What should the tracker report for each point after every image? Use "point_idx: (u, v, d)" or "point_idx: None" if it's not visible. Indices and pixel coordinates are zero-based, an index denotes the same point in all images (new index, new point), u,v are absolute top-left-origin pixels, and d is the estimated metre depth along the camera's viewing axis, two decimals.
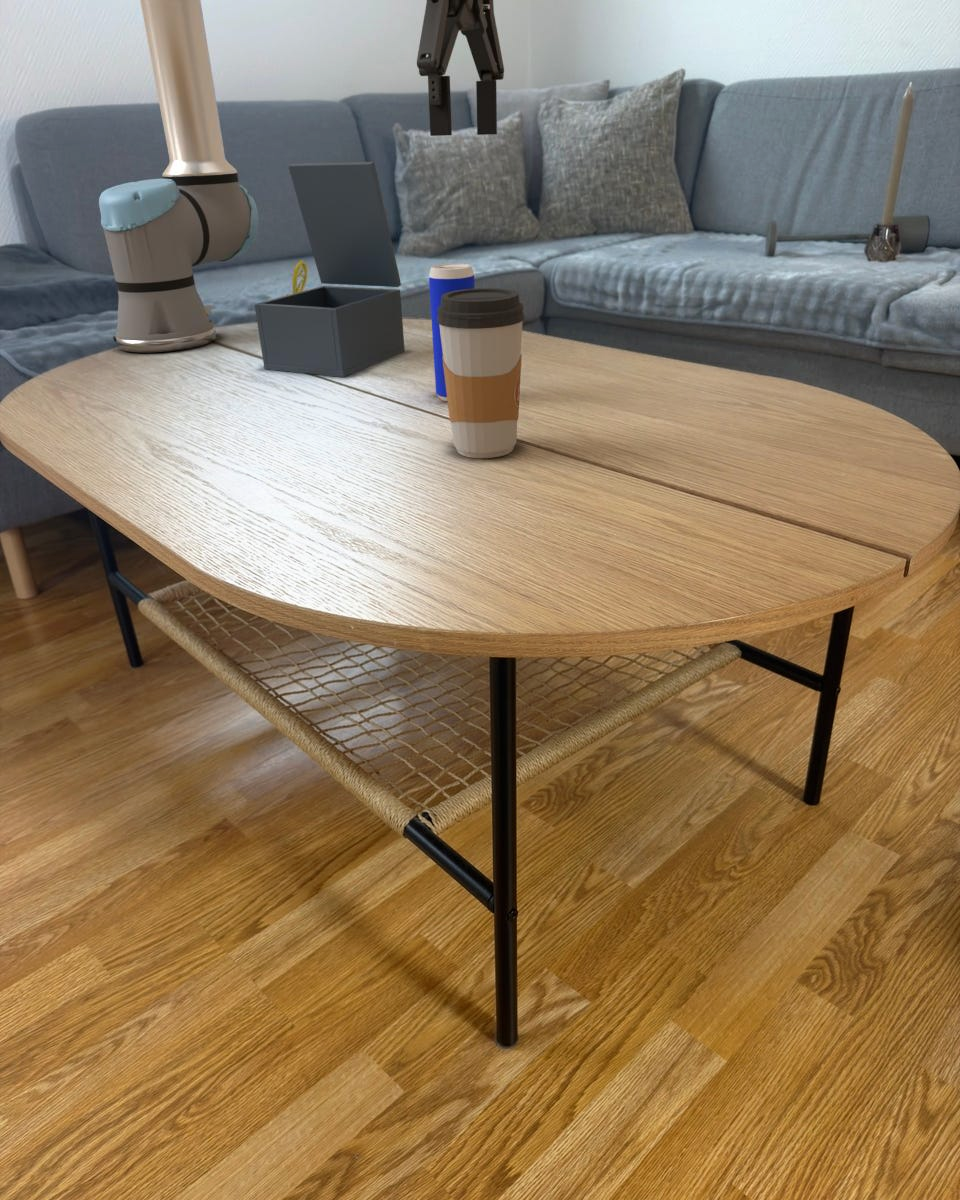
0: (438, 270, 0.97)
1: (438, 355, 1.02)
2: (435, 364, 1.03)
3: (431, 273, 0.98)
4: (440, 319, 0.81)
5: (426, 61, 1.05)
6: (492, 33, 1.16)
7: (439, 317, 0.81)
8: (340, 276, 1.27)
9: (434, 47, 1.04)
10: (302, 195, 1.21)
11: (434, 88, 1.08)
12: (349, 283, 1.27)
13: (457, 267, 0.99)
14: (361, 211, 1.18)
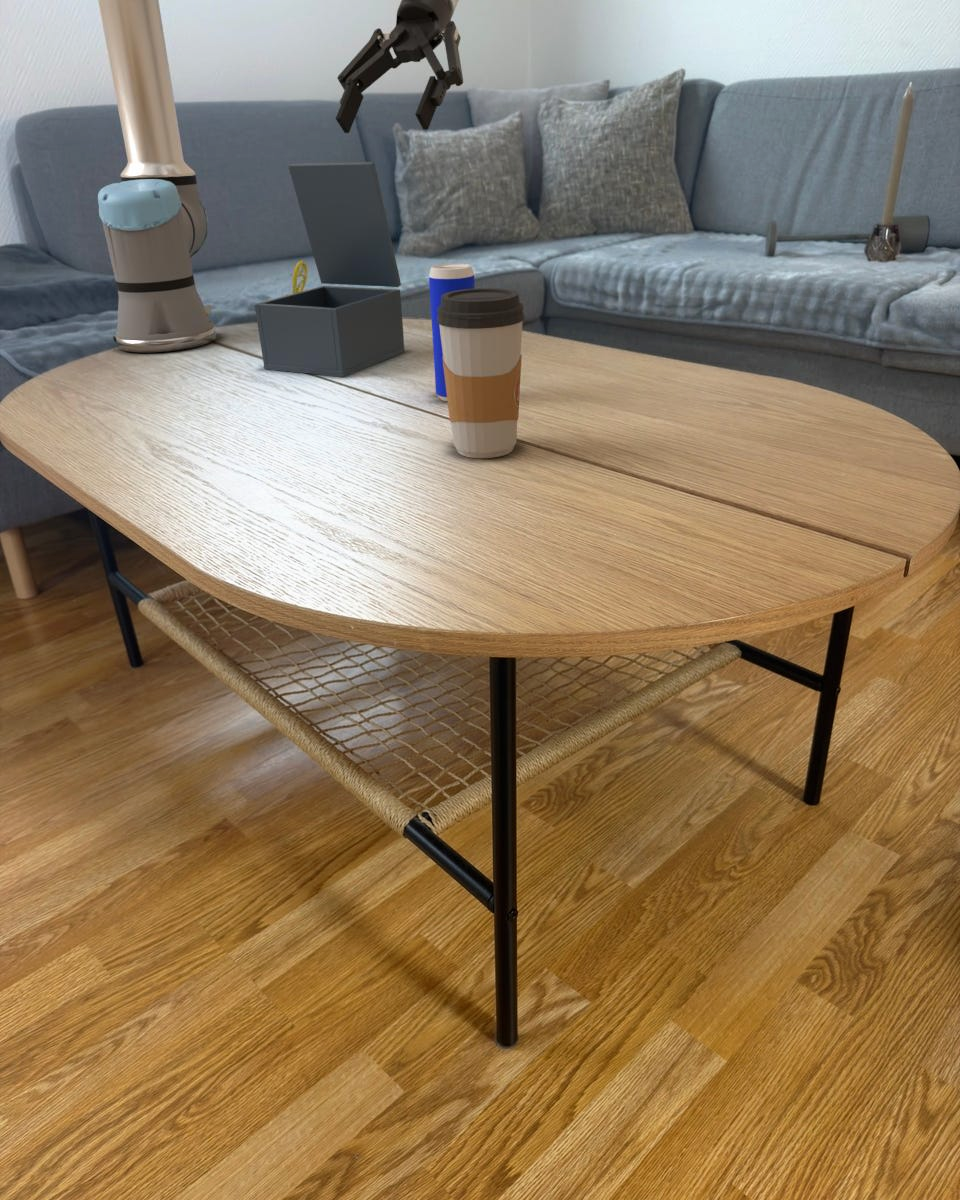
0: (438, 270, 0.97)
1: (438, 355, 1.02)
2: (435, 364, 1.03)
3: (431, 273, 0.98)
4: (440, 319, 0.81)
5: (460, 75, 1.21)
6: None
7: (439, 317, 0.81)
8: (340, 276, 1.27)
9: (461, 72, 1.22)
10: (302, 195, 1.21)
11: (442, 92, 1.21)
12: (349, 283, 1.27)
13: (457, 267, 0.99)
14: (361, 211, 1.18)
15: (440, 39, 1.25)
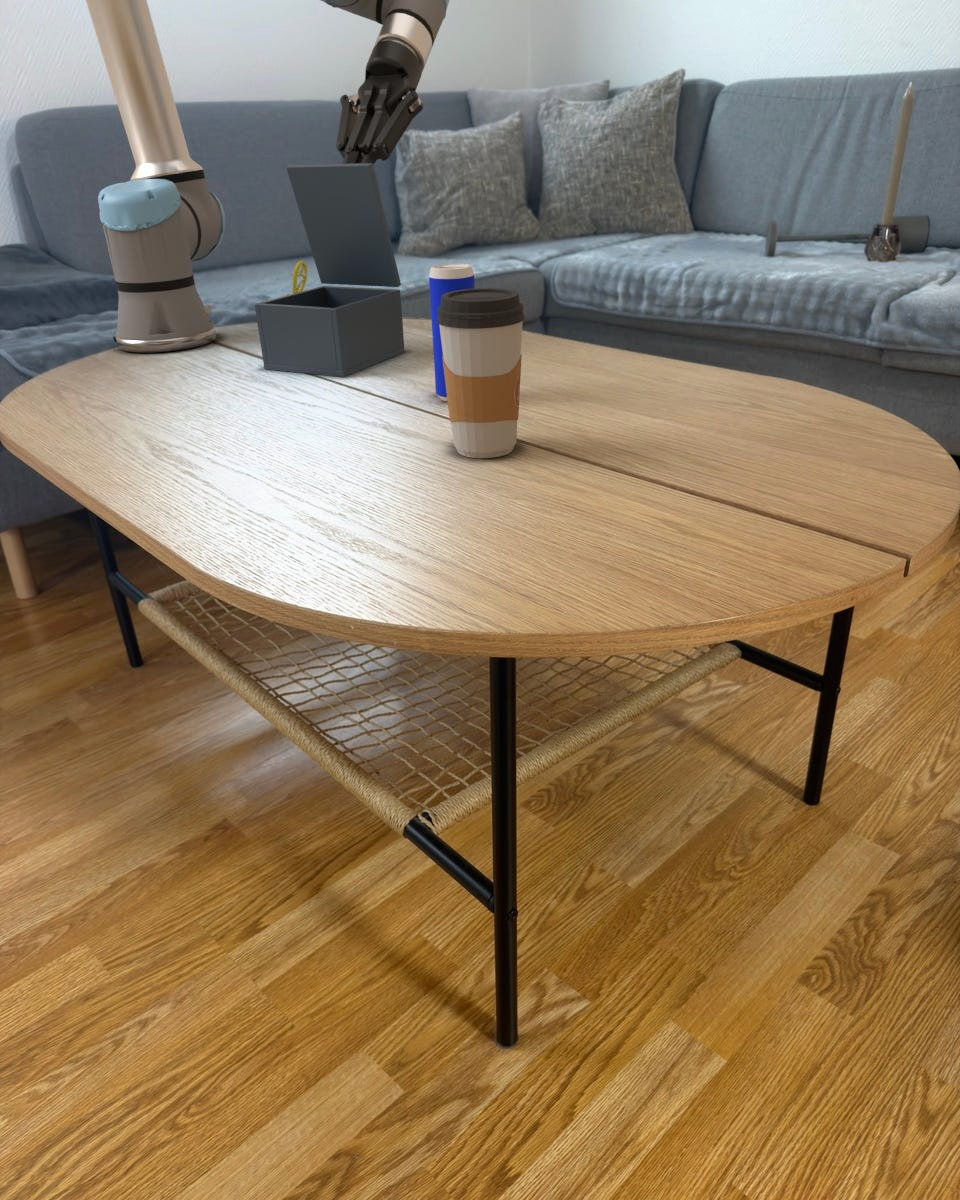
0: (438, 270, 0.97)
1: (438, 355, 1.02)
2: (435, 364, 1.03)
3: (431, 273, 0.98)
4: (440, 319, 0.81)
5: (383, 152, 1.20)
6: None
7: (439, 317, 0.81)
8: (340, 276, 1.27)
9: (392, 148, 1.21)
10: (300, 196, 1.20)
11: None
12: (349, 283, 1.27)
13: (457, 267, 0.99)
14: (360, 212, 1.18)
15: None
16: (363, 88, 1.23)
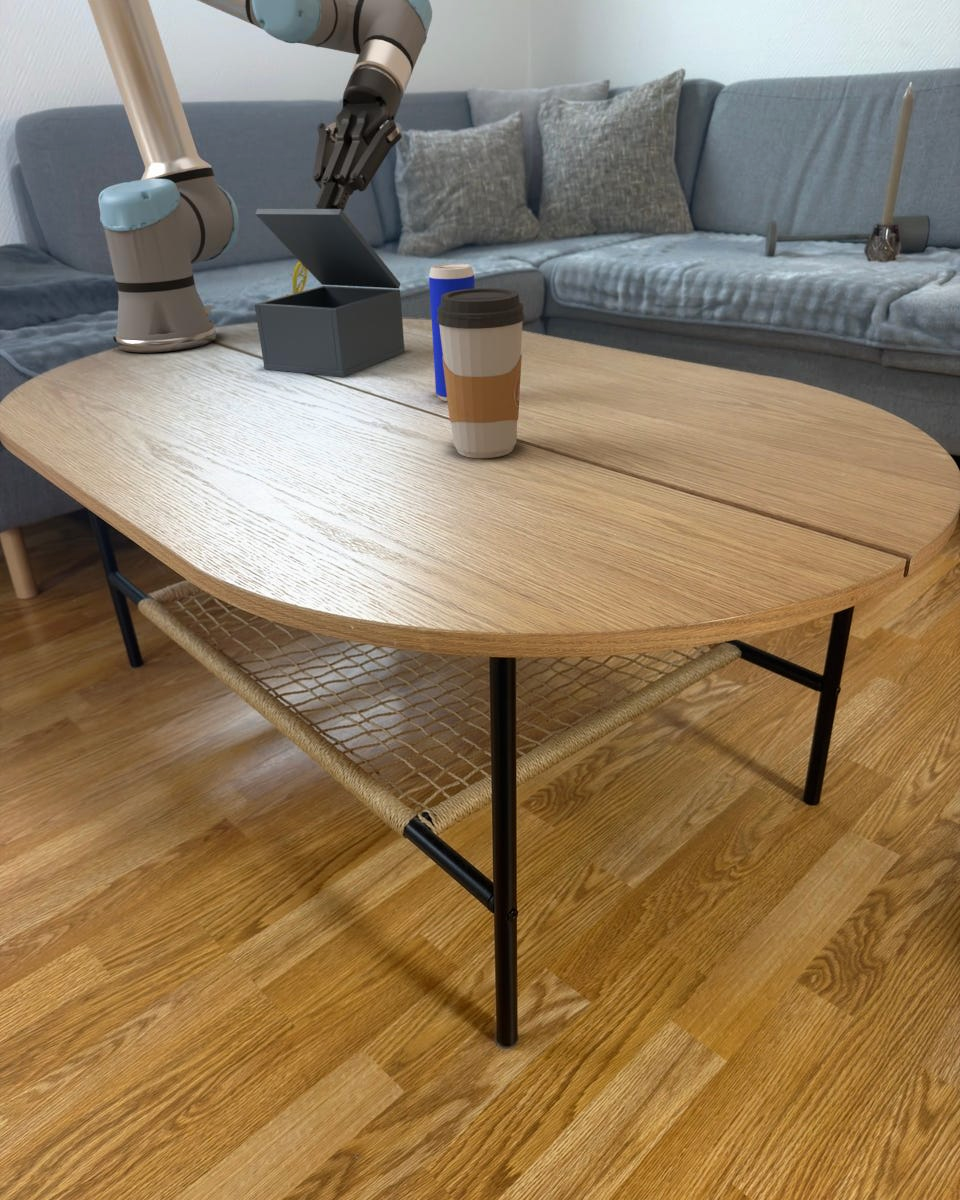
0: (438, 270, 0.97)
1: (438, 355, 1.02)
2: (435, 364, 1.03)
3: (431, 273, 0.98)
4: (440, 319, 0.81)
5: (361, 183, 1.17)
6: None
7: (439, 317, 0.81)
8: (339, 281, 1.27)
9: (370, 178, 1.17)
10: (278, 232, 1.18)
11: (344, 198, 1.17)
12: (349, 285, 1.27)
13: (457, 267, 0.99)
14: (342, 243, 1.16)
15: None
16: (340, 116, 1.20)
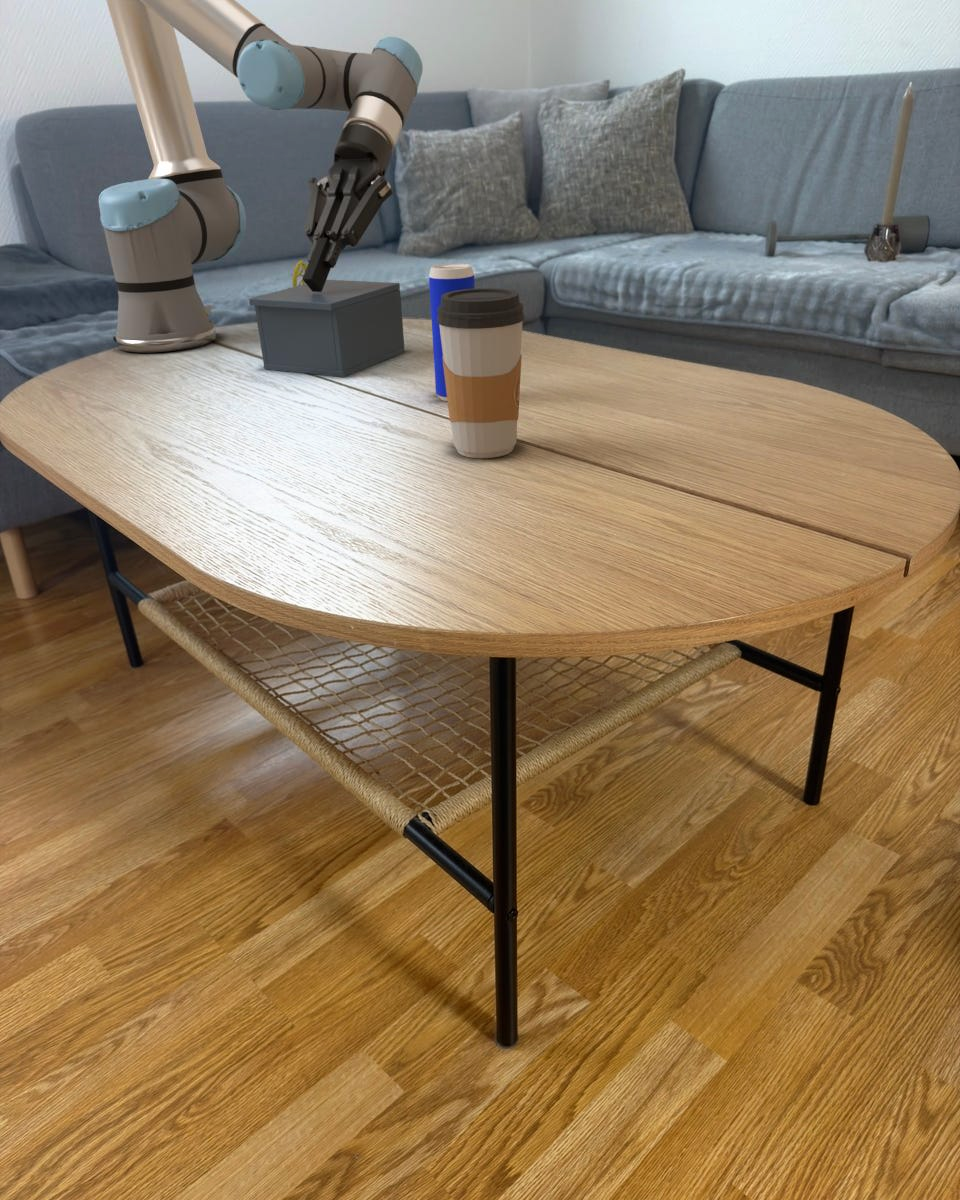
0: (438, 270, 0.97)
1: (438, 355, 1.02)
2: (435, 364, 1.03)
3: (431, 273, 0.98)
4: (440, 319, 0.81)
5: (352, 239, 1.17)
6: None
7: (439, 317, 0.81)
8: None
9: (361, 234, 1.18)
10: None
11: (335, 253, 1.17)
12: None
13: (457, 267, 0.99)
14: None
15: None
16: (332, 171, 1.21)
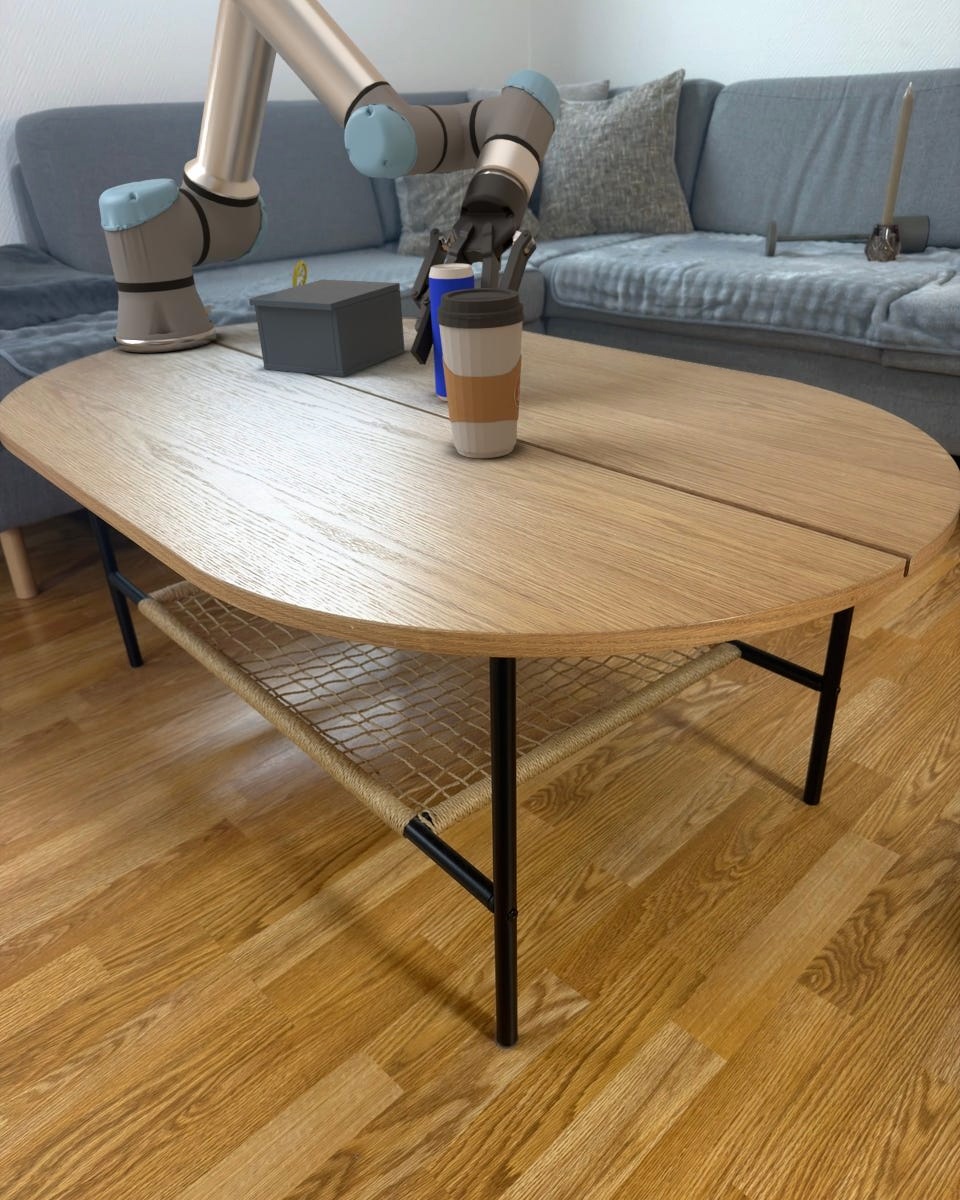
0: (438, 270, 0.97)
1: (437, 355, 1.02)
2: (435, 364, 1.03)
3: (431, 273, 0.98)
4: (440, 319, 0.81)
5: None
6: None
7: (439, 317, 0.81)
8: None
9: None
10: None
11: None
12: None
13: (457, 267, 0.99)
14: None
15: (513, 241, 1.02)
16: (459, 227, 1.04)
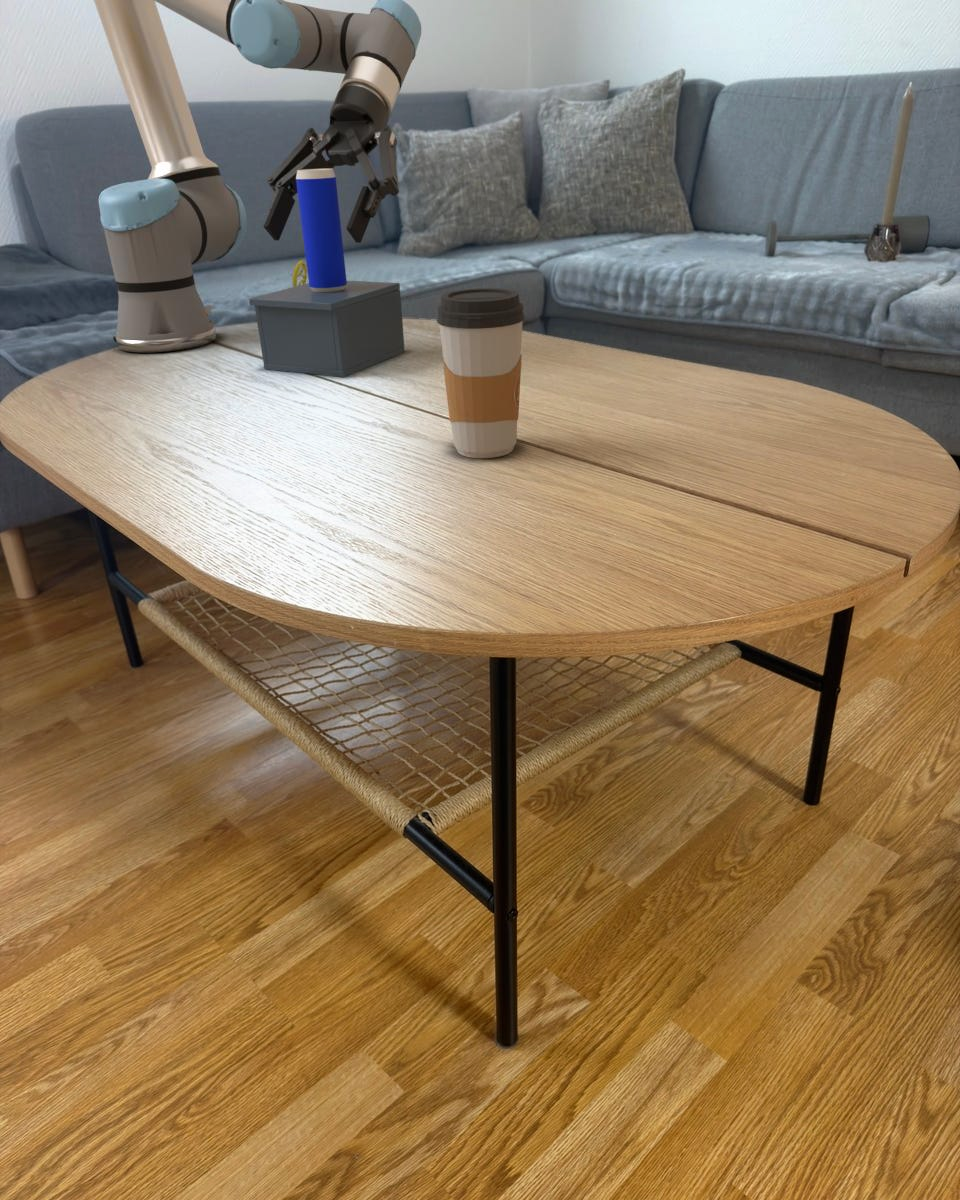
0: (302, 171, 1.12)
1: (307, 250, 1.17)
2: (306, 258, 1.18)
3: (297, 175, 1.13)
4: (440, 319, 0.81)
5: (395, 185, 1.13)
6: None
7: (439, 317, 0.81)
8: None
9: (397, 181, 1.14)
10: None
11: (376, 203, 1.13)
12: None
13: None
14: None
15: (375, 142, 1.17)
16: (327, 134, 1.19)
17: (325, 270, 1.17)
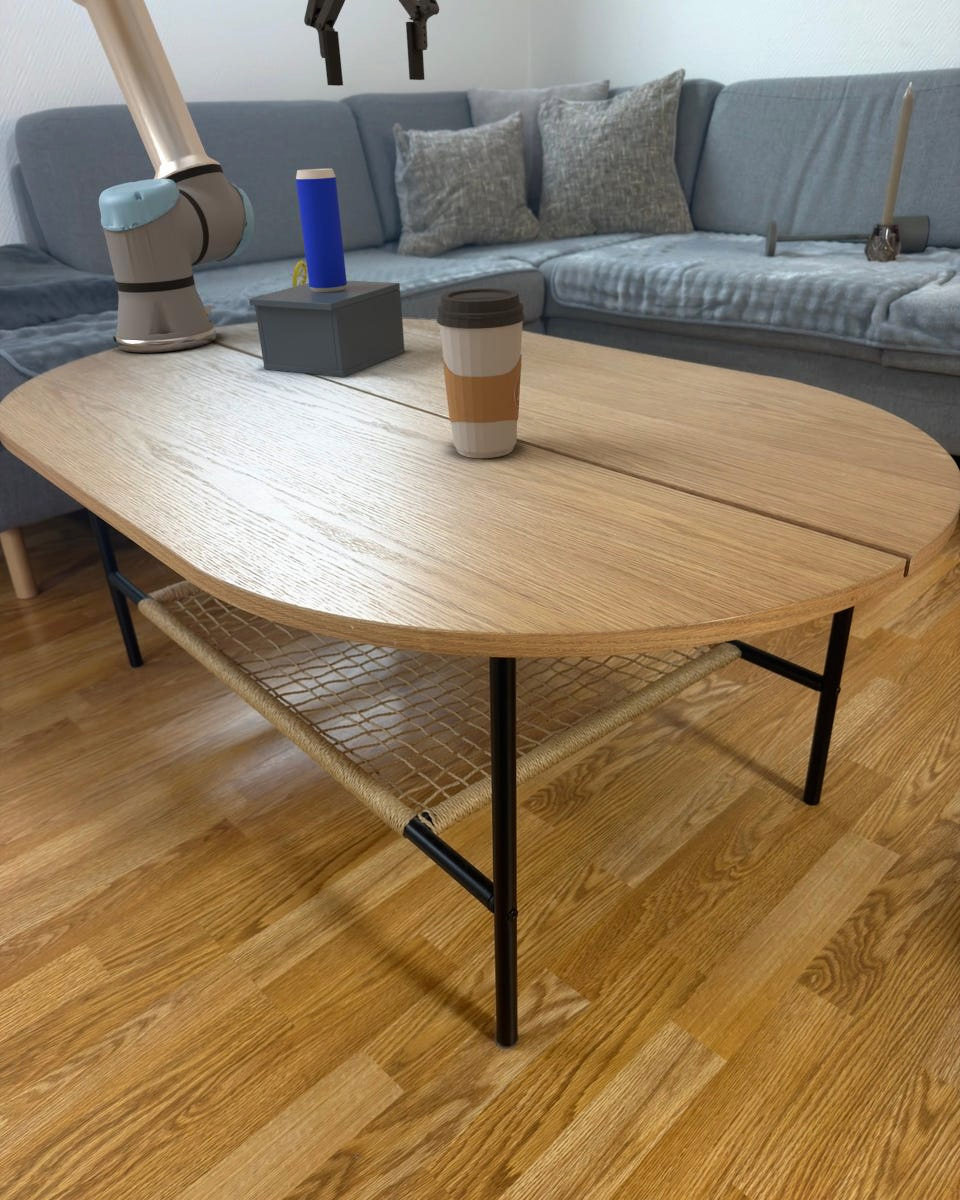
0: (302, 171, 1.12)
1: (307, 250, 1.17)
2: (306, 258, 1.18)
3: (297, 175, 1.13)
4: (440, 319, 0.81)
5: (434, 7, 1.13)
6: None
7: (439, 317, 0.81)
8: None
9: None
10: None
11: (424, 33, 1.15)
12: None
13: None
14: None
15: None
16: None
17: (325, 270, 1.17)
